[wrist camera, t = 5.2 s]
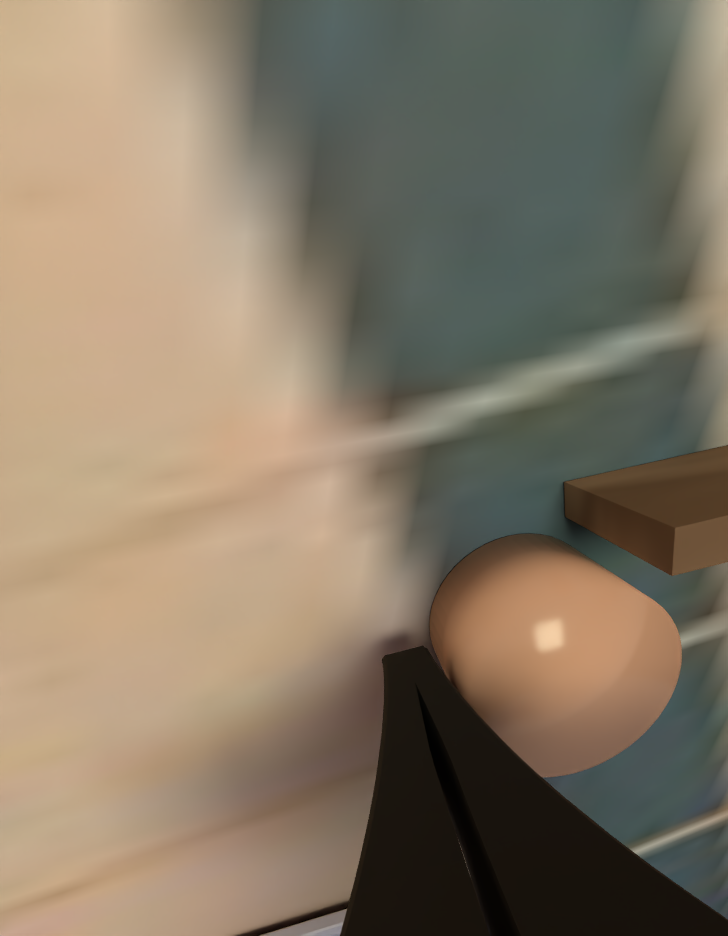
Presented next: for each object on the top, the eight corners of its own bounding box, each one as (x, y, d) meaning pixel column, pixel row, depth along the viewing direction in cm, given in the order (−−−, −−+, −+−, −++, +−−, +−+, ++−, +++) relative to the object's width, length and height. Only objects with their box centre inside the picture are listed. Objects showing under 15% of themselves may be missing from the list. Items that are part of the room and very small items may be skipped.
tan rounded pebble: (594, 661, 13) (675, 743, 10) (441, 703, 12) (478, 801, 10) (594, 515, 11) (689, 561, 8) (417, 557, 11) (453, 622, 8)
